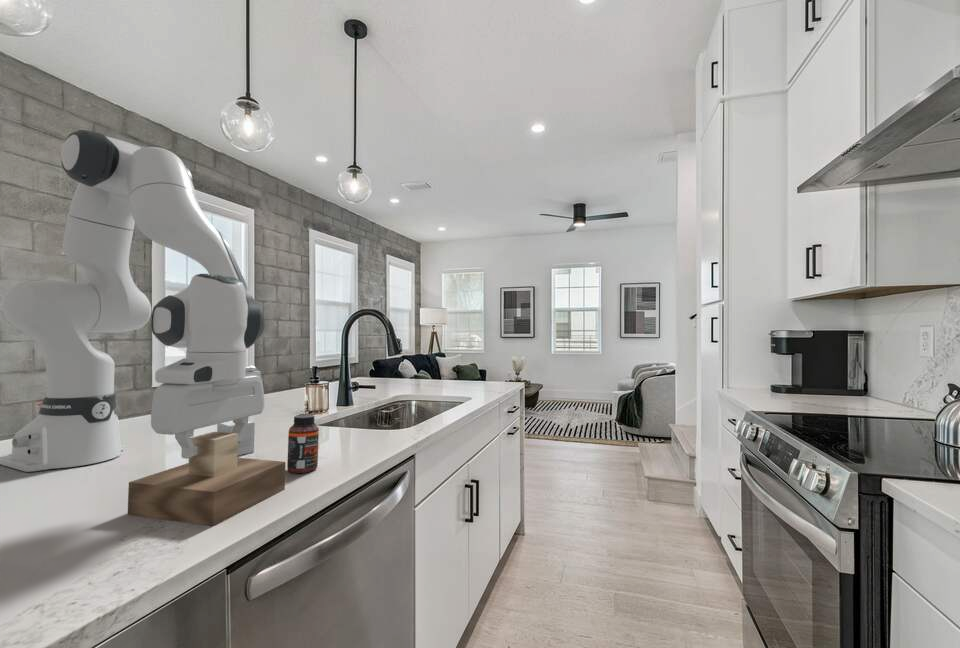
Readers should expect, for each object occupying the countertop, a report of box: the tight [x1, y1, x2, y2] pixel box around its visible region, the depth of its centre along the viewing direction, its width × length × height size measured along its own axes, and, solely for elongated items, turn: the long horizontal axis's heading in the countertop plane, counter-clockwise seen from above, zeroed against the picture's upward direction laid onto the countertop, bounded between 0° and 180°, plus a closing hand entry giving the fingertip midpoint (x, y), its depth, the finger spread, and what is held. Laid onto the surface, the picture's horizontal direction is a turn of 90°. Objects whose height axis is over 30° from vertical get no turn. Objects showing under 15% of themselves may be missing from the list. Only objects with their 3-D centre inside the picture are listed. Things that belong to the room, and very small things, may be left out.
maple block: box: [188, 431, 239, 477], centre depth 75 cm, size 5×5×6 cm
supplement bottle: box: [286, 413, 320, 474], centre depth 92 cm, size 6×6×11 cm
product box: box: [216, 420, 256, 456], centre depth 104 cm, size 6×6×7 cm
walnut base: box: [127, 457, 286, 527], centre depth 74 cm, size 16×16×5 cm
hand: (213, 450), depth 75 cm, fingers open, 8 cm apart
